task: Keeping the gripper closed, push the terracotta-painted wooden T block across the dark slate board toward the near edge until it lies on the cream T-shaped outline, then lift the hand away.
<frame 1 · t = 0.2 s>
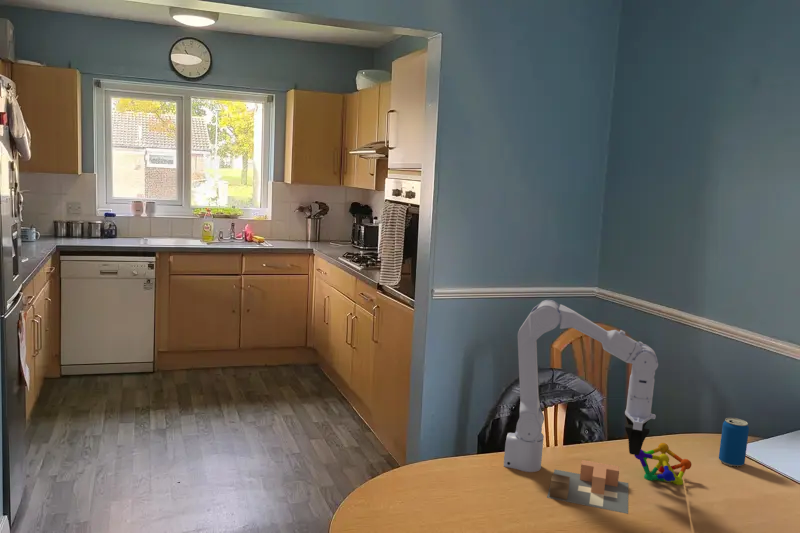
hand: (634, 448, 168), 10 cm above the table, tool pointing down, fingers open, 7 cm apart
board: (588, 493, 163), on the table
decorative model: (660, 481, 174), on the table
t block: (598, 485, 166), point 1 cm above the table, touching board
walnut cube: (559, 494, 160), point 1 cm above the table, touching board
beverage can: (731, 463, 188), on the table
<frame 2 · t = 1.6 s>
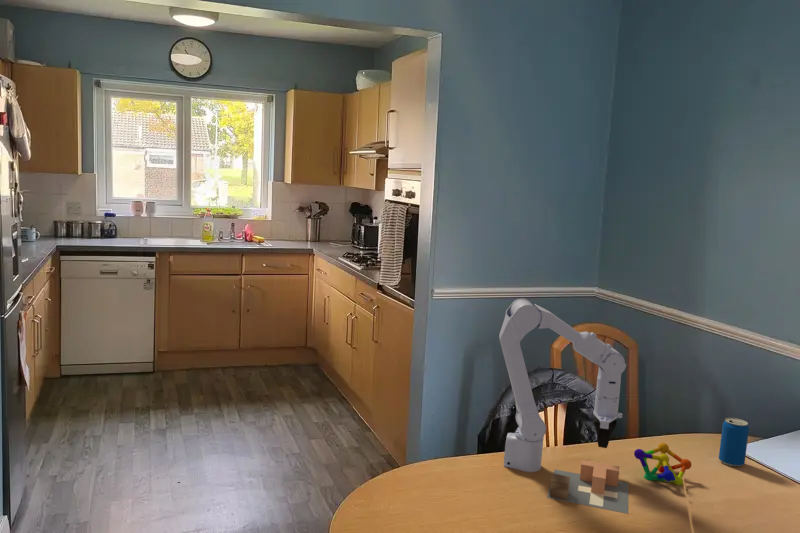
hand: (602, 446, 175), 7 cm above the table, tool pointing down, fingers closed
nothing on the table moved.
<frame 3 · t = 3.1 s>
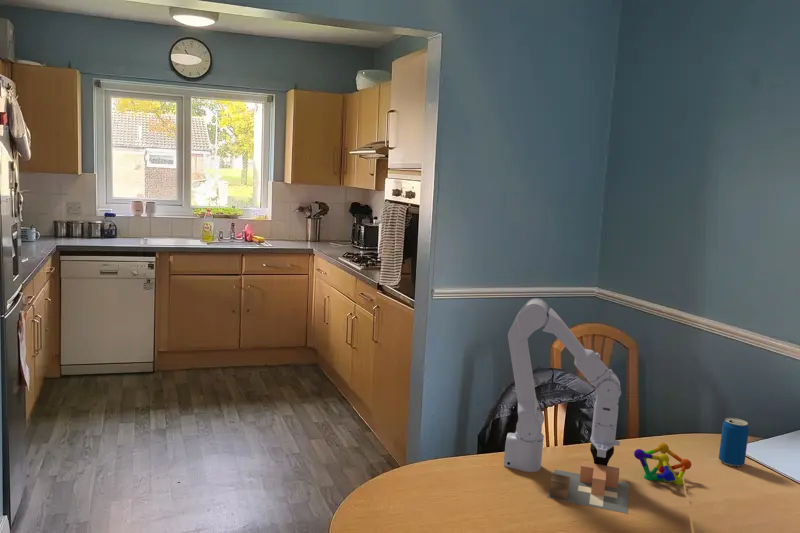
hand: (599, 474, 170), 2 cm above the table, tool pointing down, fingers closed
t block: (598, 487, 165), point 1 cm above the table, touching gripper
everything else where it was.
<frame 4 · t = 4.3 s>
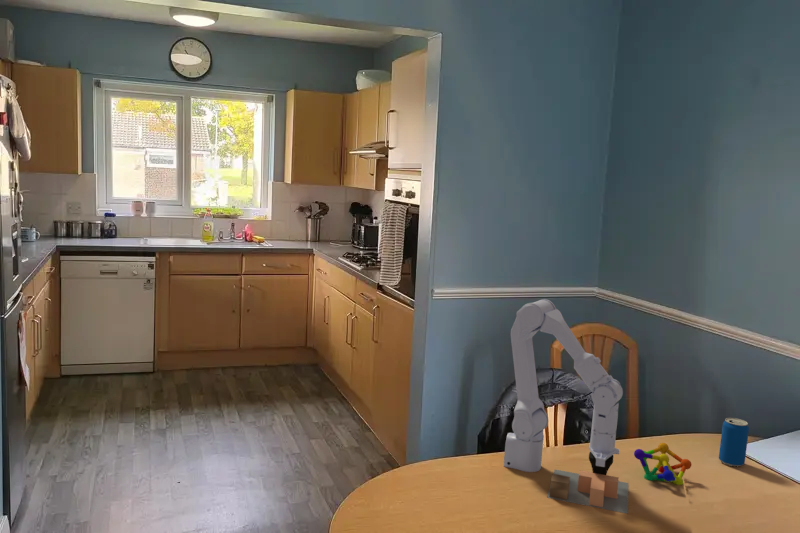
hand: (598, 483, 165), 2 cm above the table, tool pointing down, fingers closed
t block: (596, 497, 160), point 1 cm above the table, touching board, gripper
everything else where it was.
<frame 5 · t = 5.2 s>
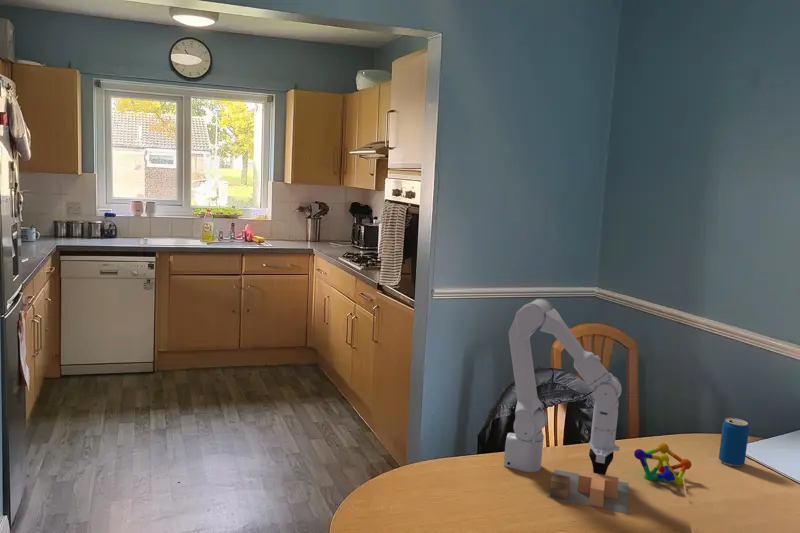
hand: (598, 480, 167), 2 cm above the table, tool pointing down, fingers closed
t block: (596, 497, 159), point 1 cm above the table, touching board
everything else where it was.
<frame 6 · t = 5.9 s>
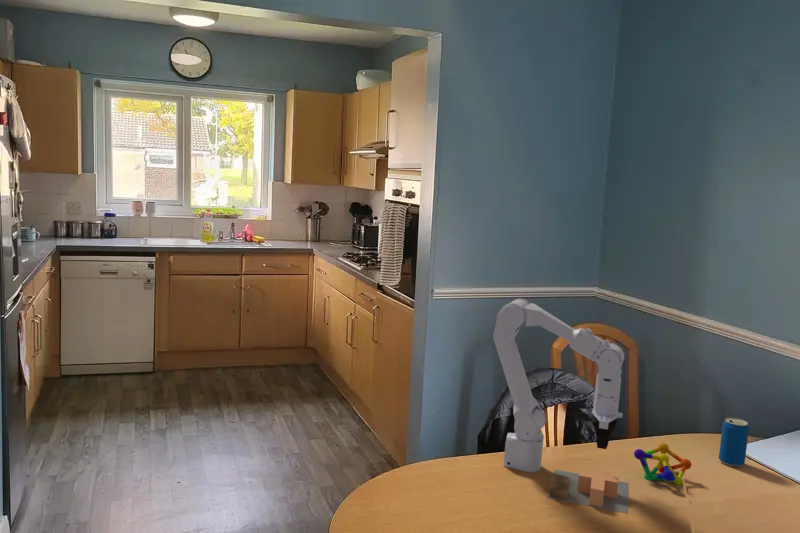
hand: (601, 447, 167), 10 cm above the table, tool pointing down, fingers closed
nothing on the table moved.
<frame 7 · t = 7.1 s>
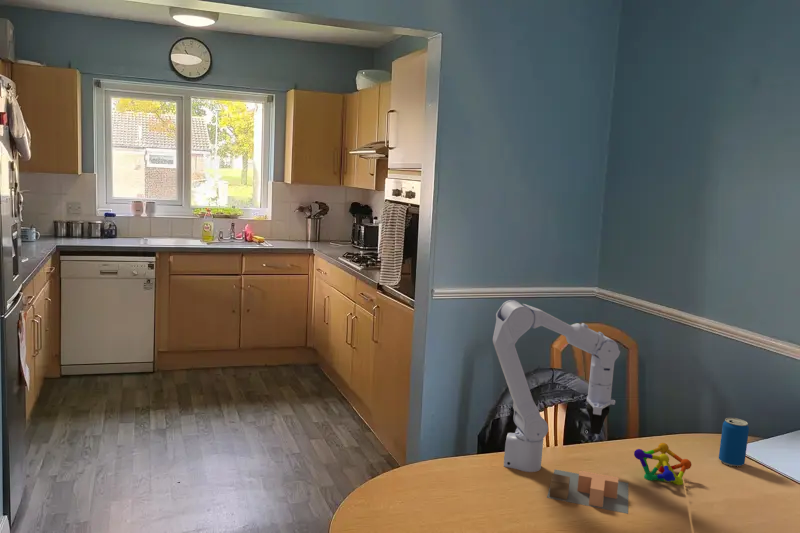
hand: (595, 433, 177), 10 cm above the table, tool pointing down, fingers closed
nothing on the table moved.
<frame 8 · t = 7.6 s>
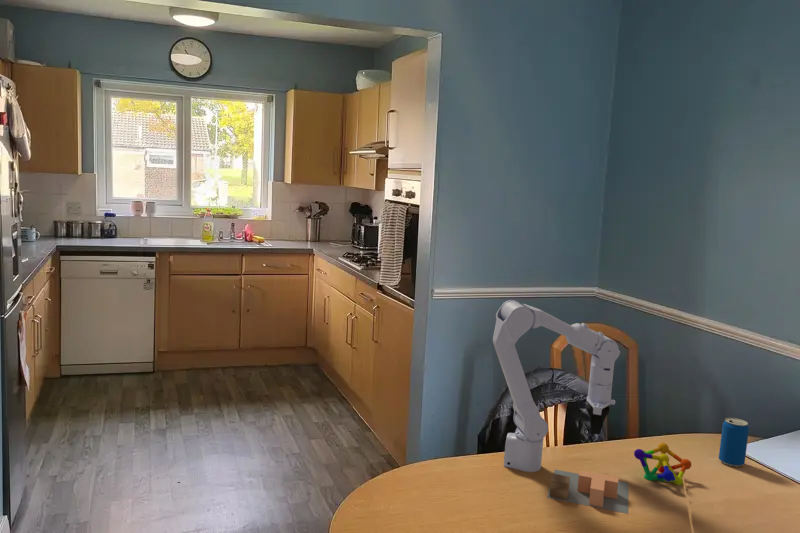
hand: (595, 433, 177), 10 cm above the table, tool pointing down, fingers closed
nothing on the table moved.
at the end: t block 0.4 cm from the target spot on the board, point 1.0 cm above the board's base; t block tilted 0°; t block moved 6.9 cm from its start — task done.
